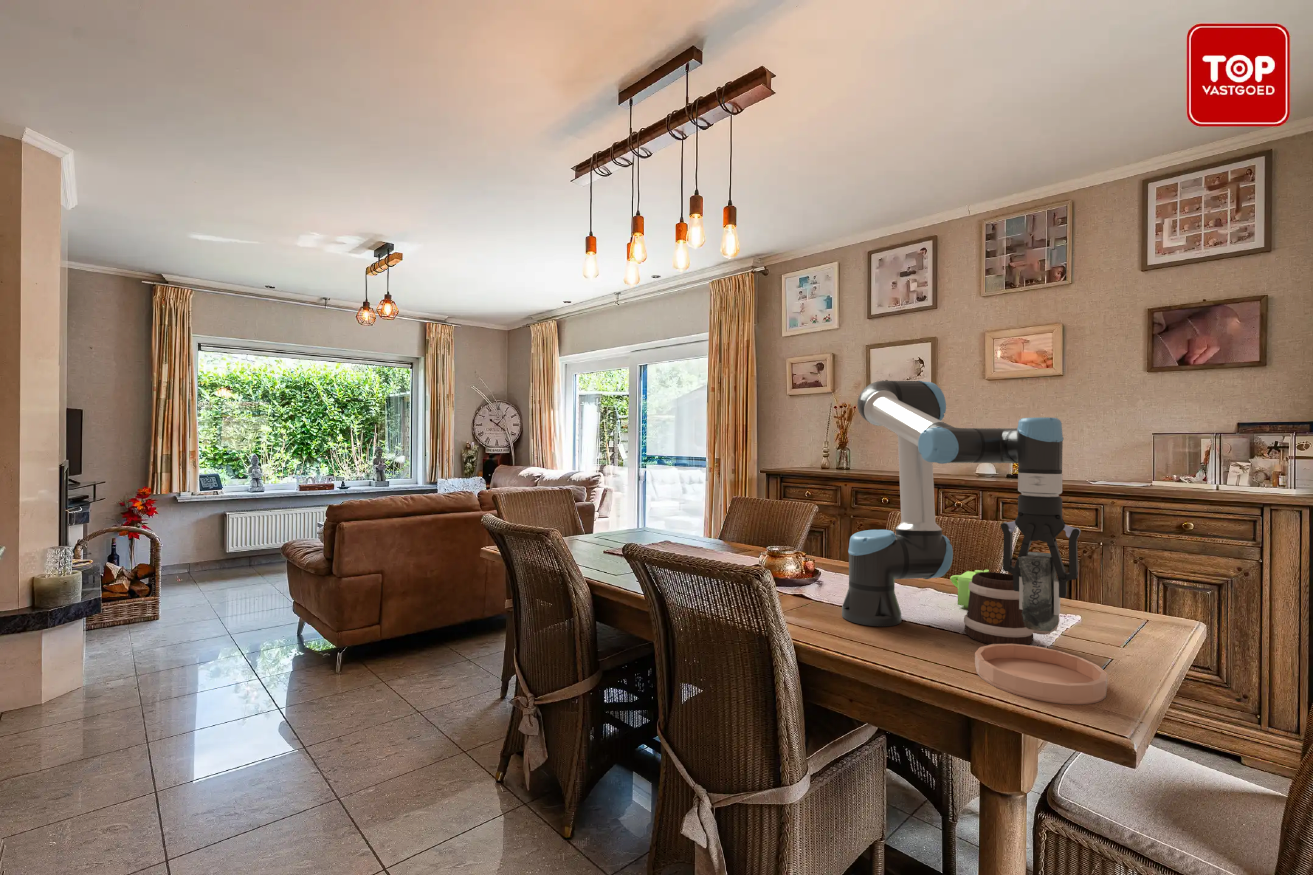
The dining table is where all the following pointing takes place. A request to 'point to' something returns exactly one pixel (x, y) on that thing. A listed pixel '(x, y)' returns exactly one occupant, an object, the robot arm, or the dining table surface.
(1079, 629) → the dining table surface
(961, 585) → the teapot
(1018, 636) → the mug
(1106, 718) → the dining table surface
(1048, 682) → the dish
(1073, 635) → the dining table surface
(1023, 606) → the stone block
